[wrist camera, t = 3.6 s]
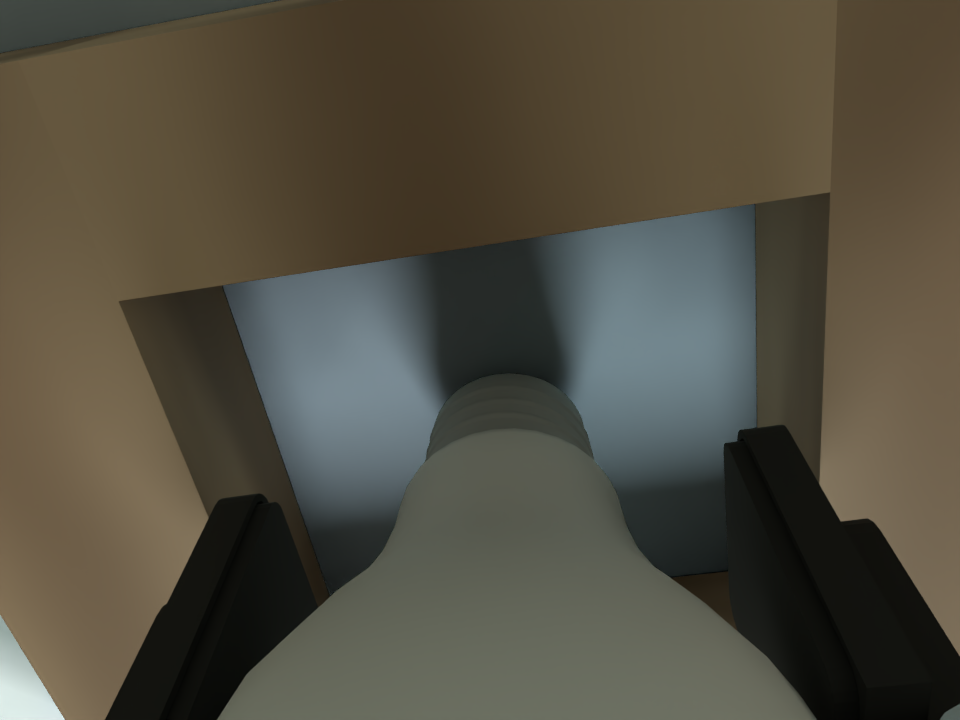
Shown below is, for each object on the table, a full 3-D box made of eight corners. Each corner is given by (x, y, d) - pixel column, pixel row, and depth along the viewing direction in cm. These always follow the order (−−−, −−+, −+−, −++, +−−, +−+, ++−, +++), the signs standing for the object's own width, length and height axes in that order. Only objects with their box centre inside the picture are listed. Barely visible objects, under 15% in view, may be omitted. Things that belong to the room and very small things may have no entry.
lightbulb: (629, 190, 12) (1155, 1284, 2) (723, 496, 15) (1149, 1600, 5) (268, 320, 13) (-367, 1406, 4) (416, 582, 16) (283, 1610, 6)
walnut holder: (1068, -147, 10) (1272, -174, 7) (948, 649, 16) (1034, 788, 14) (-120, 75, 11) (-304, 120, 9) (202, 722, 18) (151, 860, 15)
